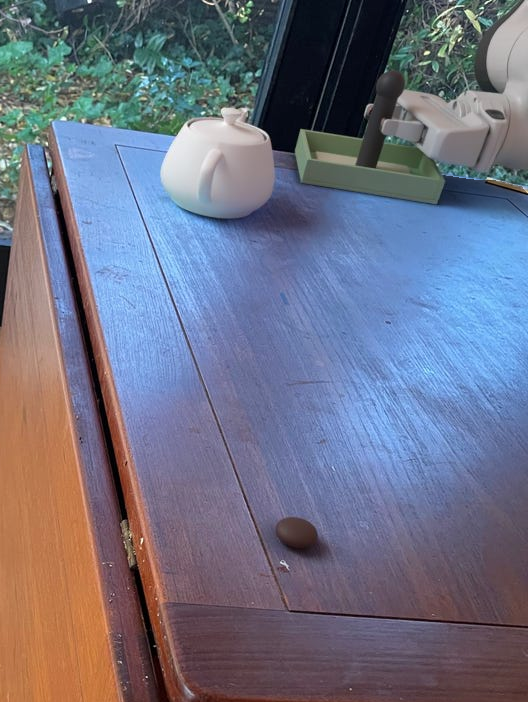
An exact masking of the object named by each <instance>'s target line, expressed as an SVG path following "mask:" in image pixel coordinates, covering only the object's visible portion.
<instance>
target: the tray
mask: <svg viewBox="0 0 528 702" xmlns="http://www.w3.org/2000/svg"><path fill="white" fill-rule="evenodd" d="M362 141H363V138H361V137H354V136H348V135H341V134H334V133H328V132H323V131H317V130H316V131H315V130H310V129H303V128H300V130H299V133H298V138H297V141H296V146H295V148H294V155H295V159H296V164H297V169H298V173H299V179H300V183H301V184H306V185H313V186H317V187H318V186H319V187H325V188H330V189H331V188H332V189H338V190H342V191H343V190H344V191H350V192H356V193H362V194H369V195H374V196H381V197H387V198H393V199H400V200H406V201H411V202H412V201H413V202H419V203H424V204H425V203H427V204H432V205H438V202H439V200H440V198H441V194H442V191H443V189H444V187H445V183H446V179H445V178H444V176H443V174H442V172H441V170H440V169H439V166H438V164H437V163H436V161H435V160H433V159H431V158H429V157H428V156H427V155H425V154H424V153H423V152H422V151H421V150H420V149H419V148H417V147H416V146H410V145H404V144H397V143H391V142H386V141H384V144H383V147H382V151H381V154H380V157H379V160H378V161H381V162H387V163H394V164H400V165H406V166H408V169H409V171H410V173H411V174H405V173H399V172H393V171H386V170H380V169H374V168H368V167H361V166H355V165H349V164H342V163H336V162H330V161H324V160H317V159H316V158H315V153H316V151H318V152H325V153H331V154H337V155H343V156H350V157H356V158H358V154H359V151H360V148H361V145H362Z"/></svg>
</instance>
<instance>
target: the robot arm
mask: <svg viewBox="0 0 528 702" xmlns="http://www.w3.org/2000/svg"><path fill="white" fill-rule="evenodd" d="M473 72H474V77H475V80H476V83H477V86H478V87H479V88H480V90H481V91H479V90H470V89H469V90H465V91H463V92H462V93H461V94H459V95H458V96H457V98H456V99H452V100H450V101H449V102H447V101H446V100H445V99H443V98H442V97H440V96H438V95H435V94H432V93H427V92H423V91H415V90H409V89H404V91H403V93H402V94H401V96H400V97H399V98H398V100H397V103H396V106H395V109H394V113H393V116H392V118H388V117H384V118H383V119H382V120H381V125H380V127H379V130H380V131H381V132H382V133H383V134H384V135H386V136H392V137H395V138H399V139H402V140H405V141H407V142H410V143H412V144H413V146H414V147H417V148H419V149H420V150H421V151H422V152H423V153H424V154H425V155H427V156H428V157H429V158H431V159H433V160H434V161H435V162H438V163H442V164H447V165H453V166H458V167H463V168H467V169H468V170H471V171H473V172H475V173H480V174H488V173H490V170H491V168H492V166H494V165H499V166H503V168H506V169H510V170H519V171H528V0H519V1H518V2H517V3H516V4H515V5H514V6H513V7H512V8H511V9H510V10H508V11H507V12H506V13H505V14H504V15H502V16H501V17H500V18H499V19H497V20H496V21H495V22H493V23H492V25H491V26H490V27H489V28H488V29H487V30H486V31H485V32H484V34H483V35H482V37H481V39H480V41H479V43H478V45H477V48H476V51H475V55H474V61H473ZM373 105H374V103H368V104H367V105H366V107H365V110H364V114H363V117H364V119H366V120H367V121H369V118H370V115H371V112H372V108H373Z"/></svg>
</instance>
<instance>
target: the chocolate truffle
mask: <svg viewBox="0 0 528 702" xmlns="http://www.w3.org/2000/svg"><path fill="white" fill-rule="evenodd" d="M275 535H276V537H277V538H278V540H279V541H280V542H282V543H283V544H284V545H286V546H287V547H291V548H295V549H305V548H309V547H311V546H313V545H315V544H316V542H317V541H318V535H319V534H318V530H317V529H316V527H315V526H314V525H313V524H312V523H311V522H310V521H308V520H306V519H304V518H303V517H302V518H301V517H298V516H297V517H296V516H288V517H285V518H282V519H280V520H279V521H278V522H277V523H276V525H275Z"/></svg>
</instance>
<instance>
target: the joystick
mask: <svg viewBox="0 0 528 702" xmlns="http://www.w3.org/2000/svg"><path fill="white" fill-rule="evenodd" d="M405 88H406V78H405V76H404V75H403V74H402V72H400V71H399V70H395V69H390V70H387V71H385V72H383V73H382V74H381V75H380V76H379V78H378V79H377V82H376V85H375V92H376V96H375V99H374V103H373V104H374V105H373V108H372V112H371V115H370V118H369V121H368V120H367V121H368V122H367V125H366V128H365V132H364V135H363V138H362V139H363V141H362V145H361V148H360V151H359V154H358V158H356V157H350V156H343V155H337V154H331V153H325V152H318V151H316V153H315V158H316V159H317V160H324V161H330V162H336V163H342V164H349V165H355V166H361V167H368V168H374V169H380V170H386V171H393V172H399V173H405V174H411V173H410V171H409V169H408V166H406V165H400V164H394V163H387V162H381V161H378V160H379V157H380V154H381V151H382V147H383V144H384V142H386V138H387V135H384V134H383V133H382V132H381V131H380V130H379V127H380V125H381V120H382V119H383V118H384V117H388V118H392V116H393V113H394V109H395V106H396V103H397V100H398V98H399V97H400V96H401V94H402V93H403V91H404V90H405Z"/></svg>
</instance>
